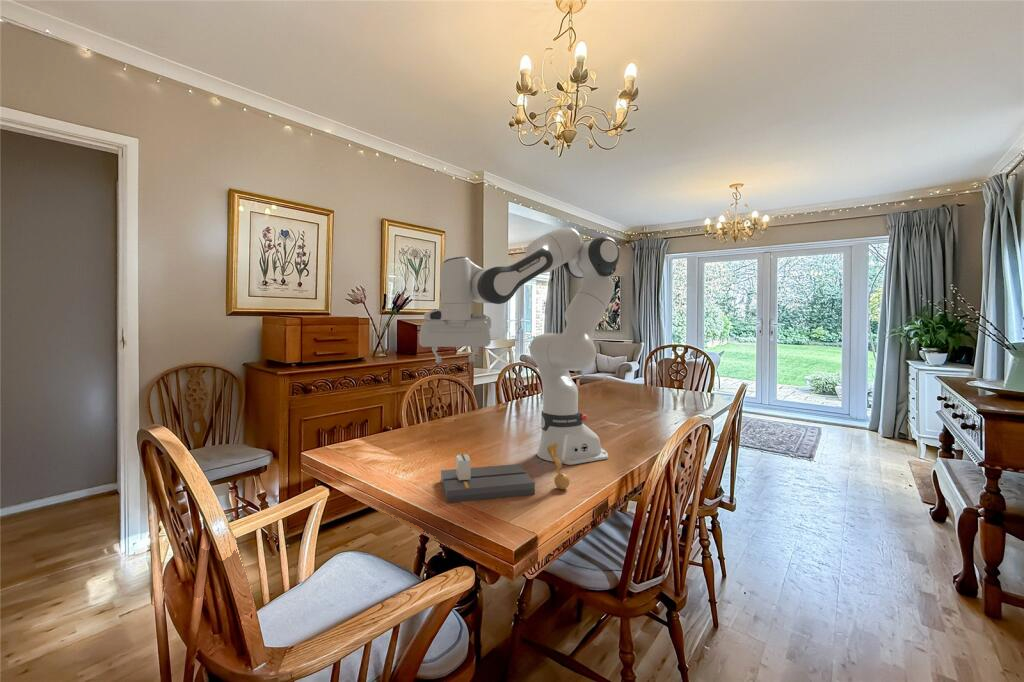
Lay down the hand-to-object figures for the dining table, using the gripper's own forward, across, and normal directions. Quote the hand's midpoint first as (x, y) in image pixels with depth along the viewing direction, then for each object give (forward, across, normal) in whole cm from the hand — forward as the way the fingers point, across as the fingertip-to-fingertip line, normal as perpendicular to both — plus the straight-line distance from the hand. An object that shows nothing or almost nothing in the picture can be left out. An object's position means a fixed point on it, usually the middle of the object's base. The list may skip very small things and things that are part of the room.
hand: (455, 362), depth 127 cm
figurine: (+31, -24, +21) cm, 45 cm away
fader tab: (+29, 0, +16) cm, 33 cm away
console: (+31, -6, +16) cm, 35 cm away
